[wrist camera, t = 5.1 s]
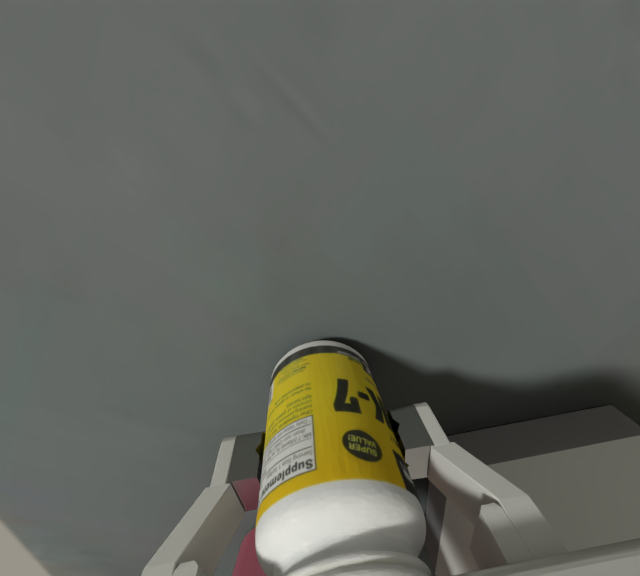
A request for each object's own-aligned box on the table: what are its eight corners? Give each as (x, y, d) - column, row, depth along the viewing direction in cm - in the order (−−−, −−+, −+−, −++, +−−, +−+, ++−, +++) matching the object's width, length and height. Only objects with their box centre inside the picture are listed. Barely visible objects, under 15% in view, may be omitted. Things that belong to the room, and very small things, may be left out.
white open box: (611, 404, 17) (880, 603, 9) (554, 513, 23) (687, 688, 15) (432, 439, 16) (558, 678, 9) (423, 540, 22) (492, 734, 15)
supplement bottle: (386, 374, 13) (522, 669, 5) (318, 423, 14) (349, 727, 6) (323, 317, 11) (391, 644, 4) (249, 379, 12) (181, 731, 5)
